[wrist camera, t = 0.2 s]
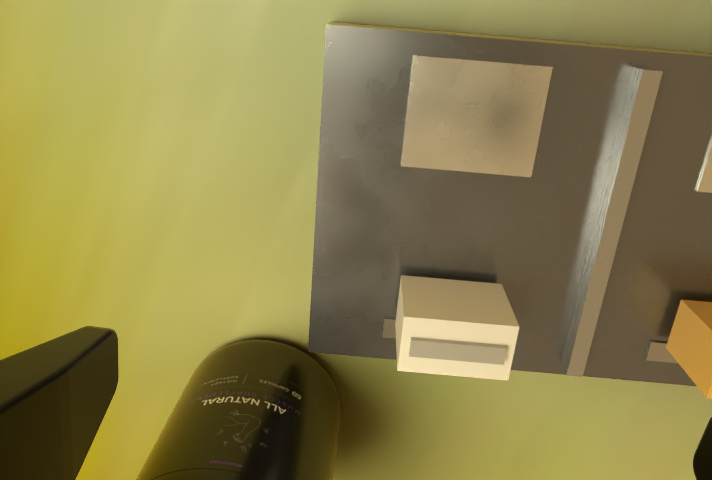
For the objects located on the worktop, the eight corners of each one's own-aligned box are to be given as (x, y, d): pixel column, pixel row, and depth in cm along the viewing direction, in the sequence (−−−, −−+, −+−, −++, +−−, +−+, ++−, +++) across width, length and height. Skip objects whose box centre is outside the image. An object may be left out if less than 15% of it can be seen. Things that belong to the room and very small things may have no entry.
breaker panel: (792, 367, 25) (839, 410, 22) (313, 325, 25) (305, 363, 23) (916, 70, 20) (994, 81, 18) (330, 21, 21) (323, 25, 18)
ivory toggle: (492, 332, 22) (509, 384, 19) (395, 323, 22) (397, 374, 19) (501, 284, 21) (520, 330, 18) (401, 275, 21) (403, 319, 18)
